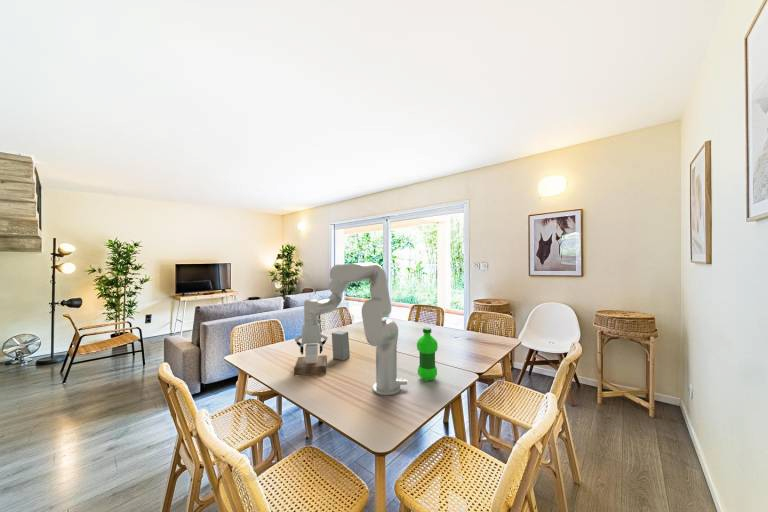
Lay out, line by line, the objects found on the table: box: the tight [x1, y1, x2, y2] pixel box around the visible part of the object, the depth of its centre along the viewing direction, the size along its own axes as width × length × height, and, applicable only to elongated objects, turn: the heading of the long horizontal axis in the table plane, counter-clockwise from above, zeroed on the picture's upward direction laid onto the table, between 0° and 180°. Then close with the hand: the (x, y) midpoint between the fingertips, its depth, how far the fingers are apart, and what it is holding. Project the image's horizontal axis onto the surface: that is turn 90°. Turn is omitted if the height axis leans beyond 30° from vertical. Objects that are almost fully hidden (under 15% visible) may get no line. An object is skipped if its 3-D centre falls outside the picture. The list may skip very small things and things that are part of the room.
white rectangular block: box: [304, 343, 319, 364], centre depth 153 cm, size 6×6×9 cm
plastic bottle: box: [416, 327, 438, 382], centre depth 140 cm, size 10×10×25 cm
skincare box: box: [331, 330, 351, 361], centre depth 169 cm, size 8×7×16 cm
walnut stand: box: [293, 354, 328, 376], centre depth 153 cm, size 16×16×4 cm
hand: (311, 353), depth 153 cm, fingers open, 9 cm apart
